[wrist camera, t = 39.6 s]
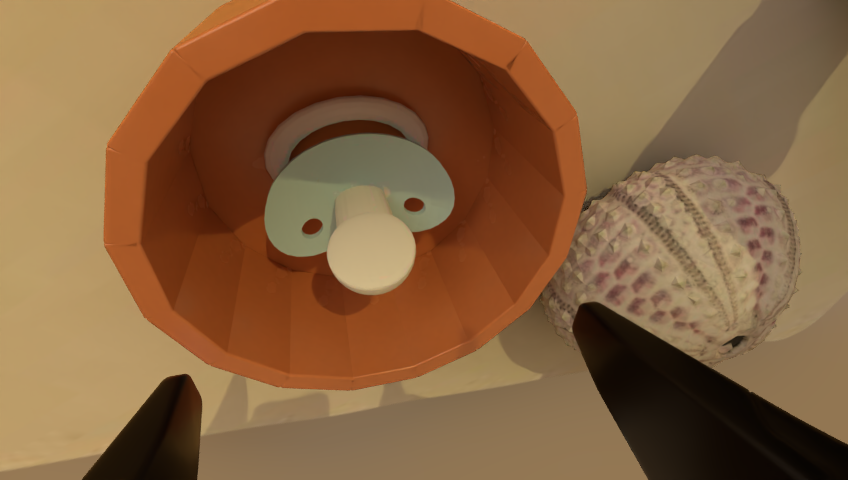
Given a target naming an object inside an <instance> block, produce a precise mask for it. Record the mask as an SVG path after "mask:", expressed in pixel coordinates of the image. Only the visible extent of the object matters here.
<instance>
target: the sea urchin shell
mask: <svg viewBox="0 0 848 480" xmlns="http://www.w3.org/2000/svg"><path fill="white" fill-rule="evenodd" d="M780 193H781V185H773V184H771V183H769V182H768V181H767V180H766V177H765V175H760V174H756V173H749V172H748V171H747V170H746V169H745V168H744V167H743V166H742V165H741V163H740V162H739V161H737V162H733V163H729V162H725V161H723V160H722V159H720V158H719V157H717V156H716V155H715V156H712V157H709V158H704V157H701V156H699V155H697V154H695V155H693V156H691V157H688V158H686V159H681V158H678V157H675V156H674V157H673V158H672V159H671V160H669V161H667V162H666V163H656V164H655V165H654V166H653V167H652V168H651V169H650V170H649V171H648V172H645V171H643V172H637V171H635V172H634V173H633V174H632V175H631V176H630V177H628V179H627V180H626V181H621V182H618V183H617V185H616V184H613V186H612V189H611V191H610V192H609V193H608V194H607V195H606V196H605V197H604V198H603V199H601V200H592V203H591V205H590V206H589V208H588V209H587V210H586V211H584V212H582V213H580V216H579V219H578V223H577V226H576V229H575V233H574V236H573V239H572V243H571V246H570V249H569V253H568V255H567V258H566V259H565V261H564V262H563V263H562V265H561V266H560V268H559V269H558V270H557V272H556V273H555V274H554V276H553V277H552V279H551V280H550V281H549V283H548V284H547V286H546V287H545V288H544V290H543V291H542V295H543V296H542V298H541V299H540V302H541V303H542V304H543V306H544V307H545V314H546V315H547V316H549V318H548V322H550V323H552V324H553V325H554V327H555V331H556V334H557V335H559V336H561V337H562V338H564V340H565V344H566V345H568V346H572V347H574V350H577V351H580V349H579V346H578V344H577V342H576V340H575V337H574V335H573V331H572V324H573V321H574V318H575V316H576V313H577V310H578V307H579V306H580V305H581V304H582V303H586V302H592V301H596V302H599V303H601V304H603V305H605V306H606V307H608V308H610V309H611V310H613V311H615V312H616V313H618V314H620V315H622V316H623V317H625V318H627V319H628V320H630V321H632V322H634V323H635V324H637V325H639V326H640V327H642V328H644V329H645V330H647V331H649V332H651V333H652V334H654V335H656V336H657V337H659V338H661V339H662V340H664V341H666V342H668V343H669V344H671V345H673V346H674V347H676V348H678V349H680V350H681V351H683V352H685V353H686V354H688V355H690V356H691V357H693V358H695V359H697V360H698V361H700V362H702V363H703V364H705V365H707V366H708V367H710V368H713V367H715V366H716V365H718V364H719V363H721V362H722V361H724V360H726V359H730V358H733V357H736V356H737V355H743V354H744V353H746V352H748V351H750V350H752V349H754V348H755V347H756V346H758V345H759V344H760V343H762V342H763V341H764V340H765V338H766V337H767V336H768V335H769V334H770V332H771V330H772V329H773V328H775V327H776V325H775V322H776V320H777V318H778V317H779V316H780V314H781V313H782V312H783V311H784V310H785V309H787V308H789V305H788V302H789V300H790V298H791V297H792V295H793V294H795V293H796V292H797V291H799V290H798V289H797V288H796V287H795V285H796V281H797V277H798V275H800V274H801V273H802V271H801V269H800V268H799V264H800V255H801V254H802V253H800V237H799V235H798V233H799V229H798V227H797V220H795V219H794V213H793V211H792V210H791V209H790V208H789V207H788V204H789V200H788V199H787V197H785V196H782V195H781V194H780ZM580 352H581V351H580Z"/></svg>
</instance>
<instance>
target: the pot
mask: <svg viewBox="0 0 848 480" xmlns="http://www.w3.org/2000/svg"><path fill="white" fill-rule="evenodd" d="M359 95H362V96H372V97H381V98H385V99H388V100H391V101H394V102H397V103H401V104H402V105H404V106H406V107H407V108H409V109H410V110H412V111H413V112H415V113H416V114H417V115H418V117H419V118H420V119H421V120H422V121H423V123H424V124H425V127H426V130H427V133H428V137H429V139H428V148H427V150H428V151H429V152H430V153H431V154H432V155H433V156H434V157H435V158H436V159H437V160H438V161H439V162H440V163H441V165H442V167H443V168H444V169H445V170H446V172H447V174H448V176H449V177H450V179H451V182H452V185H453V188H454V197H455V200H454V207H453V209H452V211H451V213H450V215H449V216H448V217H447V218H446V220H444V221H443V222H442V223H440V224H439V225H437V226H435V227H433V228H431V229H428V230H424V231H420V232H412V234H413V237H414V239H415V244H416V256H415V261H414V265H413V267H412V270H411V272H410V273H409V275H408V277H407V278H406V279H405V280H404V281H403V283H402V284H400V285H399V286H398V287H397V288H395V289H393V290H391V291H390V292H387V293H384V294H380V295H364V294H359V293H356V292H354V291H352V290H350V289H348V288H347V287H345V286H344V285H343V284H342V283H340V282H339V281H338V279H337V278H336V277H335V275H334V274H333V272H332V270H331V268H330V266H329V263H328V259H327V251H326V252H323V253H320V254H317V255H314V256H304V257H296V256H292V255H287V254H285V253H283V252H281V251H280V250H278V249H277V248H276V247H275V246H274V245H273V244H272V242H271V241H270V239H269V237H268V235H267V232H266V229H265V221H264V217H265V206H266V202H267V197H268V193H269V190H270V188H271V185H272V183H273V181H274V180H273V179H272V177H271V176H270V174H269V172H268V171H267V169H266V166H265V159H264V151H265V148H266V145H267V141H268V139H269V137H270V136H271V135H272V133H273V132H274V131H275V129H276V128H277V127H278V125H279V124H281V123H282V122H283V121H285V120H286V119H287V118H288V117H290V116H291V115H292V114H294V113H295V112H297V111H299V110H301V109H303V108H305V107H308V106H310V105H312V104H314V103H317V102H321V101H325V100H329V99H332V98H336V97H346V96H359ZM354 133H383V134H390V135H394V136H398V137H402V138H405V136H404V135H403V134H402V132H401V131H399V130H398V129H396V128H394V127H392V126H390V125H388V124H384V123H381V122H377V121H369V120H352V121H342V122H338V123H335V124H331V125H327V126H325V127H322V128H320V129H318V130H316V131H314V132H312V133H310V134H309V135H308V136H306V137H305V138H304V139H302V140H301V141H300V142H299V143H298V144H297V145H296V146H295V148H294V149H293V150H292V152H291V155H290V158H289V161H291V160H292V159H293V158H295V157H296V156H297V155H299V154H300V153H302V152H303V151H304V150H306V149H308V148H310V147H312V146H314V145H316V144H318V143H320V142H323V141H325V140H328V139H331V138H334V137H338V136H342V135H347V134H354ZM405 139H406V138H405ZM107 146H108V147H107V148H106V171H105V207H104V246H105V248H106V250H107V252H108V253H109V255H110V257H111V259H112V261H113V262H114V264H115V266H116V268H117V270H118V271H119V273H120V275H121V277H122V278H123V280H124V282H125V284H126V286H127V287H128V289H129V291H130V293H131V295H132V296H133V298H134V300H135V302H136V303H137V305H138V307H139V309H140V311H141V312H142V314H143V316H144V318H147V320H148V321H149V322H151V323H152V324H153V325H155V326H156V327H157V328H159V329H160V330H162V331H163V332H164V333H166V334H167V335H168V336H170V337H171V338H172V339H174V340H175V341H176V342H178V343H179V344H181V345H182V346H183V347H185V348H186V349H187V350H189V351H190V352H191V353H193V354H194V355H196V356H197V357H198V358H200V359H201V360H202V361H204V362H205V363H206V364H208V365H211V366H213V367H216V368H219V369H222V370H225V371H229V372H232V373H235V374H238V375H241V376H244V377H248V378H251V379H254V380H257V381H260V382H263V383H267V384H270V385H273V386H276V387H282V388H298V389H324V390H357V389H362V388H367V387H372V386H377V385H382V384H387V383H392V382H397V381H402V380H407V379H412V378H416V377H419V376H421V375H424V374H426V373H428V372H430V371H432V370H435V369H437V368H439V367H441V366H443V365H446V364H448V363H450V362H452V361H454V360H457V359H459V358H461V357H463V356H466V355H468V354H470V353H472V352H474V351H476V349H479V348H480V347H482V346H483V345H484V344H486V343H487V342H488V341H489V340H491V339H492V338H493V337H494V336H496V335H497V334H498V333H499V332H501V331H502V330H503V329H505V328H506V327H507V326H508V325H510V324H511V323H512V322H513V321H515V320H516V319H517V318H519V317H520V316H521V315H522V314H524V313H525V312H526V311H527V309H530V308H531V306H532V305H533V303H534V302H535V301H536V299H537V298H538V297H539V295H540V294H541V292H542V291H543V290H544V288H545V287H546V286H547V284H548V283H549V281H550V280H551V279H552V277H553V276H554V274H555V273H556V272H557V270H558V269H559V268H560V266H561V265H562V263H563V262H564V261H565V259H566V258H567V255H568V253H569V249H570V246H571V243H572V239H573V236H574V233H575V229H576V226H577V223H578V219H579V216H580V213H581V209H582V206H583V203H584V199H585V196H586V193H587V191H586V189H587V186H586V178H585V170H584V163H583V155H582V147H581V139H580V131H579V123H578V117H577V113H576V111H575V109H574V108H573V106H572V105H571V104H570V102H569V101H568V99H567V98H566V96H565V95H564V93H563V92H562V91H561V89H560V88H559V86H558V85H557V83H556V82H555V80H554V79H553V78H552V76H551V75H550V73H549V72H548V70H547V69H546V67H545V66H544V65H543V63H542V62H541V60H540V59H539V57H538V56H537V55H536V53H535V52H534V50H533V49H532V47H531V46H530V44H529V43H528V42H527V41H526V40H525V38H523V37H521V36H519V35H517V34H515V33H513V32H511V31H509V30H507V29H505V28H503V27H501V26H499V25H497V24H495V23H493V22H491V21H489V20H487V19H485V18H483V17H481V16H479V15H478V14H476V13H474V12H472V11H470V10H468V9H466V8H464V7H462V6H460V5H458V4H456V3H454V2H452V1H450V0H232V1H230V2H228V3H226V4H224V5H222V6H220V7H219V8H218V9H216V10H215V11H214V12H213V13H212V14H211V15H210V16H208V17H207V18H206V19H205V20H204V21H203V22H202V23H201V24H199V25H198V26H197V27H196V28H195V29H194V30H193V31H192V32H190V33H189V34H188V35H187V36H186V37H185V38H184V39H183V40H182V41H180V42H179V43H178V44H177V45H176V46H175V47H174V48H173V49H171V50H170V52H169V53H168V55H167V56H166V58H165V59H164V60H163V62H162V63H161V65H160V66H159V68H158V69H157V71H156V72H155V74H154V75H153V77H152V78H151V80H150V81H149V83H148V84H147V86H146V87H145V89H144V90H143V91H142V93H141V94H140V96H139V97H138V99H137V100H136V102H135V103H134V105H133V106H132V108H131V109H130V111H129V112H128V114H127V115H126V117H125V118H124V120H123V121H122V122H121V124H120V125H119V127H118V128H117V130H116V131H115V133H114V134H113V136H112V137H111V139H110V140H109V142H108V143H107ZM423 206H424V202H423V201H422V200H420V199H418V198H414V197H413V198H409V199H407V200H406V201H405V203H404V207H405V208H406V209H407V210H408V211H411V212H418V211H420V210H421V209H422V208H423ZM322 225H323V223H322V221H320V220H319V219H315V218H313V219H310V220H308V221H306V222H305V223H304V225H303V227H302V231H303V232H304V233H305V234H308V235H312V234H315V233H317V232H318V231H319V230H320V229H321V227H322Z"/></svg>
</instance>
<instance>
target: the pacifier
mask: <svg viewBox="0 0 848 480" xmlns="http://www.w3.org/2000/svg"><path fill="white" fill-rule="evenodd" d="M352 120H369V121H377V122H381V123H384V124H388V125H390V126H392V127H394V128H396V129H398V130H399V131H401V132H402V134H403V135H404V136H405V138H406V139H405V138H402V137H398V136H394V135H390V134H383V133H354V134H347V135H342V136H338V137H334V138H331V139H328V140H325V141H323V142H320V143H318V144H316V145H314V146H312V147H310V148H308V149H306V150H304V151H303V152H302V153H300V154H299V155H297V156H296V157H295V158H293V159H292V160H291V161H289V158H290V155H291V152H292V150H293V149H294V148H295V146H296V145H297V144H298V143H299V142H300V141H301V140H302V139H304V138H305V137H306V136H308V135H309V134H310V133H312V132H314V131H316V130H318V129H320V128H322V127H325V126H327V125H331V124H335V123H338V122H342V121H352ZM428 139H429V137H428V133H427V130H426V127H425V124H424V123H423V121H422V120H421V119H420V118H419V117H418V115H417V114H416V113H415V112H413V111H412V110H410V109H409V108H407V107H406V106H404V105H402V104H401V103H397V102H394V101H391V100H388V99H385V98H381V97H372V96H362V95H359V96H346V97H336V98H332V99H329V100H325V101H321V102H317V103H314V104H312V105H310V106H308V107H305V108H303V109H301V110H299V111H297V112H295V113H294V114H292V115H291V116H290V117H288V118H287V119H286V120H285V121H283V122H282V123H281V124H279V125H278V127H277V128H276V129H275V131H274V132H273V133H272V135H271V136H270V137H269V139H268V141H267V145H266V148H265V151H264V159H265V166H266V169H267V171H268V172H269V174H270V176H271V177H272V179H273V180H274V181H273V183H272V185H271V188H270V190H269V193H268V197H267V202H266V206H265V217H264V221H265V229H266V232H267V235H268V237H269V239H270V241H271V242H272V244H273V245H274V246H275V247H276V248H277V249H278V250H280V251H281V252H283V253H285V254H287V255H292V256H296V257H304V256H314V255H317V254H320V253H323V252H326V251H327V259H328V263H329V266H330V268H331V270H332V272H333V274H334V275H335V277H336V278H337V279H338V281H339V282H340V283H342V284H343V285H344V286H345V287H347V288H348V289H350V290H352V291H354V292H356V293H359V294H364V295H380V294H384V293H387V292H390V291H391V290H393V289H395V288H397V287H398V286H399V285H400V284H402V283H403V281H404V280H405V279H406V278H407V277H408V275H409V273H410V272H411V270H412V267H413V265H414V261H415V256H416V244H415V239H414V237H413V234H412V232H420V231H424V230H428V229H431V228H433V227H435V226H437V225H439V224H440V223H442V222H443V221H444V220H446V218H447V217H448V216H449V215H450V213H451V211H452V209H453V207H454V200H455V197H454V188H453V185H452V182H451V179H450V177H449V176H448V174H447V172H446V170H445V169H444V168H443V167H442V165H441V163H440V162H439V161H438V160H437V159H436V158H435V157H434V156H433V155H432V154H431V153H430V152H429V151H428V150H427V148H428ZM413 197H414V198H418V199H420V200H422V201H423V202H424V206H423V208H422V209H421V210H420V211H418V212H411V211H408V210H407V209H406V208H405V207H404V203H405V201H406V200H407V199H409V198H413ZM313 218H315V219H319V220H320V221H322V223H323V225H322V227H321V229H320V230H319V231H318V232H317V233H315V234H312V235H308V234H305V233H304V232H303V231H302V227H303V225H304V223H305V222H306V221H308V220H310V219H313Z"/></svg>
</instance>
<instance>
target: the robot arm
mask: <svg viewBox="0 0 848 480" xmlns="http://www.w3.org/2000/svg"><path fill="white" fill-rule="evenodd" d="M572 331H573V335H574V337H575V340H576V342H577V344H578V346H579V349H580V351H581V353H582V356H583V358H584V360H585V362H586V365H587V367H588V369H589V372H590V373H591V376H592V378H593V381H594V382H595V385H596V387H597V389H598V391H599V393H600V394H601V397H602V398H603V400H604V402H605V404H606V405H607V407H608V409H609V411H610V413H611V414H612V416H613V418H614V420H615V421H616V423H617V425H618V427H619V429H620V430H621V432H622V434H623V436H624V437H625V439H626V441H627V443H628V444H629V446H630V448H631V450H632V452H633V453H634V455H635V457H636V458H637V460H638V462H639V464H640V466H641V468H642V469H643V471H644V473H645V474H646V476H647V478H648V480H848V444H845V443H844V442H842V441H840V440H838V439H836V438H834V437H832V436H830V435H828V434H826V433H825V432H822V431H821V430H819V429H817V428H815V427H813V426H811V425H809V424H807V423H806V422H804V421H802V420H800V419H798V418H796V417H795V416H793V415H791V414H789V413H788V412H786V411H784V410H782V409H781V408H779V407H777V406H775V405H774V404H772V403H770V402H768V401H767V400H765V399H763V398H762V397H759V396H758V395H756V394H755V393H753V392H749V390H748V389H746V388H744V387H743V386H741V385H739V384H737V383H736V382H734V381H732V380H731V379H729V378H727V377H726V376H724V375H722V374H720V373H719V372H717V371H715V370H714V369H712V368H710V367H708V366H707V365H705V364H703V363H702V362H700V361H698V360H697V359H695V358H693V357H691V356H690V355H688V354H686V353H685V352H683V351H681V350H680V349H678V348H676V347H674V346H673V345H671V344H669V343H668V342H666V341H664V340H662V339H661V338H659V337H657V336H656V335H654V334H652V333H651V332H649V331H647V330H645V329H644V328H642V327H640V326H639V325H637V324H635V323H634V322H632V321H630V320H628V319H627V318H625V317H623V316H622V315H620V314H618V313H616V312H615V311H613V310H611V309H610V308H608V307H606V306H605V305H603V304H601V303H599V302H596V301H592V302H586V303H582V304H581V305H580V306H579V307H578V310H577V313H576V316H575V318H574V321H573V324H572ZM201 417H202V399H201V396H200V394H199V392H198V390H197V388H196V386H195V384H194V382H193V380H192V378H191V377H190V376H189V375H188V374H182V375H176V376H170V377H167V378H165V379H164V380H163V381H162V382H161V383H160V384H159V386H158V387H157V388H156V389H155V391H154V392H153V393H152V394H151V395H150V397H149V398H148V399H147V400H146V402H145V403H144V404H143V405H142V406H141V408H140V409H139V410H138V411H137V413H136V414H135V415H134V416H133V417H132V419H131V420H130V421H129V422H128V424H127V425H126V426H125V427H124V429H123V430H122V431H121V432H120V433H119V435H118V436H117V437H116V438H115V440H114V441H113V442H112V443H111V444H110V446H109V447H108V448H107V449H106V451H105V452H104V453H103V454H102V455H101V457H100V458H99V459H98V460H97V462H96V463H95V464H94V465H93V467H92V468H91V469H90V470H89V471H88V473H87V474H86V475H85V476H84V477H83V479H82V480H197V474H198V462H199V447H200V432H201Z"/></svg>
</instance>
